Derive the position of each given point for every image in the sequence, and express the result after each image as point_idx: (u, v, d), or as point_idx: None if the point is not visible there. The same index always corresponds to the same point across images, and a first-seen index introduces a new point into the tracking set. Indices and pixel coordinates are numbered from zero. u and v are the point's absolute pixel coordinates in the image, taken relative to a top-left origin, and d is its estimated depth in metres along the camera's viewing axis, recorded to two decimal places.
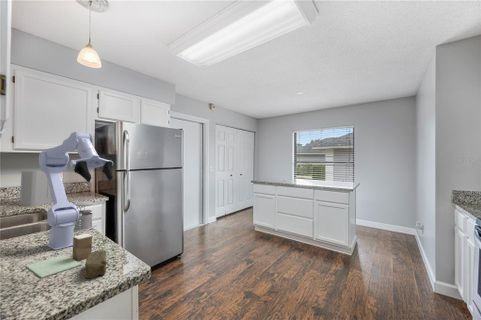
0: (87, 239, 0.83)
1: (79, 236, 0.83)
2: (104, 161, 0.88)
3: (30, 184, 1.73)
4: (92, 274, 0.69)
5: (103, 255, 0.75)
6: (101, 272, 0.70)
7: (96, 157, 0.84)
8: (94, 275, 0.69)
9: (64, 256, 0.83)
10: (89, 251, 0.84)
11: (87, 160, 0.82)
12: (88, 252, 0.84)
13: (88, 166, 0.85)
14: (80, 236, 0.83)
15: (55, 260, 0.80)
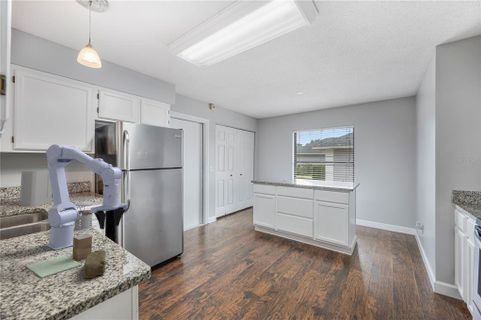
0: (87, 239, 0.83)
1: (79, 236, 0.83)
2: None
3: (30, 184, 1.73)
4: (91, 274, 0.69)
5: (102, 255, 0.75)
6: (100, 272, 0.70)
7: (115, 208, 0.91)
8: (93, 275, 0.69)
9: (64, 256, 0.83)
10: (89, 251, 0.84)
11: (106, 208, 0.90)
12: (88, 252, 0.84)
13: None
14: (80, 236, 0.83)
15: (55, 260, 0.80)
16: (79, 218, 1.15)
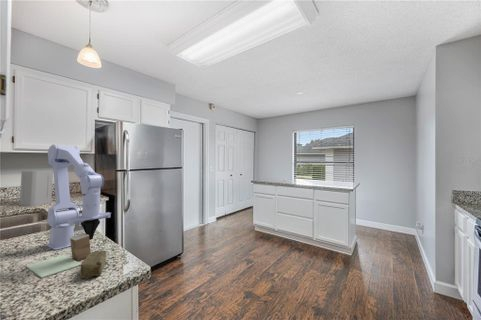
0: (84, 239, 0.82)
1: (76, 236, 0.82)
2: None
3: (30, 184, 1.73)
4: (87, 275, 0.68)
5: (101, 256, 0.75)
6: (96, 273, 0.70)
7: (95, 218, 0.85)
8: (89, 276, 0.69)
9: (64, 256, 0.83)
10: (88, 250, 0.84)
11: (85, 219, 0.83)
12: (87, 251, 0.83)
13: None
14: (77, 236, 0.82)
15: (55, 260, 0.80)
16: None
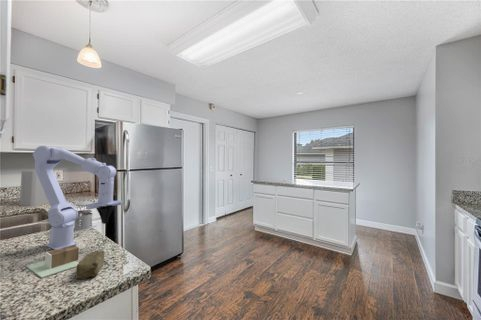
0: (54, 259, 0.74)
1: (47, 262, 0.75)
2: None
3: (30, 184, 1.73)
4: (83, 275, 0.68)
5: (98, 256, 0.74)
6: (92, 274, 0.69)
7: (109, 204, 0.95)
8: (85, 276, 0.68)
9: None
10: (71, 251, 0.79)
11: (101, 205, 0.94)
12: (72, 252, 0.79)
13: None
14: (47, 262, 0.75)
15: None
16: (79, 218, 1.15)
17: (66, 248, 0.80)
